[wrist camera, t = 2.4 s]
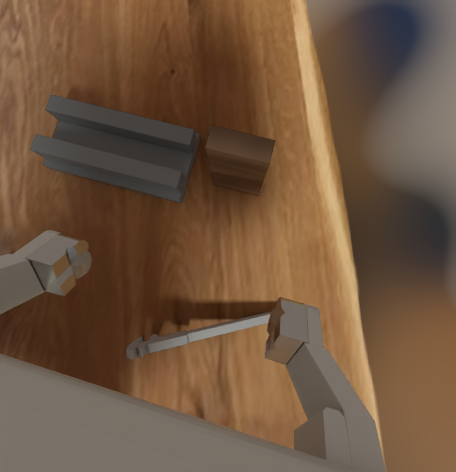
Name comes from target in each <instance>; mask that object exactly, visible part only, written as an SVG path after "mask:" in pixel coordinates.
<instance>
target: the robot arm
mask: <svg viewBox="0 0 456 472" xmlns="http://www.w3.org/2000/svg"><path fill="white" fill-rule="evenodd" d="M88 248H89V245H88V242H87V241H85V240H82V239H79V238H76V237H73V236H70V235H67V234H64V233H60V232H57V231H54V230H47V231H45V232H43V233H42V234H40V235H39V236H38V237H36V238H35V239H33V240H32V241H31V242H29V243H28V244H26V245H25V246H24V247H22V248H21V249H19V250H18V251H16V252H15V253H14V254H5V255H2V256H0V314H2V313H4V312H6V311H8V310H10V309H12V308H14V307H16V306H18V305H20V304H22V303H24V302H26V301H28V300H30V299H32V298H34V297H36V296H38V295H40V294H42V293H44V291H47V292H50V293H54V294H57V295H61V296H65V295H66V294H67V293H68V292H69V291H70V290H71V289H72V288H73V287H74V286H75V285H76V281H77V278H80V277H82V276H84V275H85V274H86V273H87V272H88V271H89V269H90V267H91V264H92V257H91V254H90V253H89V252H88V251H87V249H88ZM267 332H268V333H269V335H270V336H269V338H268V339H267V341H266V351H265V358H266V359H269V360H272V361H275V362H278V363H281V364H284V365H286V368H287V370H288V373H289V375H290V377H291V380H292V382H293V385H294V387H295V390H296V392H297V394H298V397H299V399H300V402H301V404H302V406H303V409H304V411H305V414H306V416H307V418H308V421H306V422H305V423H303V424H302V425H301V426H299V427H298V428H296V429H295V430H294V449H292V448H289V447H286V446H283V445H280V444H277V443H274V442H271V441H268V440H265V439H262V438H259V437H255V436H252V435H249V434H246V433H243V432H240V431H237V430H234V429H231V428H228V427H225V426H222V425H219V424H216V423H212V422H209V421H206V420H203V419H200V418H197V417H194V416H191V415H188V414H185V413H182V412H179V411H176V410H172V409H169V408H166V407H163V406H160V405H157V404H154V403H151V402H148V401H145V400H142V399H139V398H136V397H133V396H129V395H126V394H123V393H120V392H117V391H114V390H111V389H108V388H105V387H102V386H99V385H96V384H93V383H90V382H86V381H83V380H80V379H77V378H74V377H71V376H68V375H65V374H62V373H59V372H56V371H53V370H50V369H47V368H43V367H40V366H37V365H34V364H31V363H28V362H25V361H22V360H19V359H16V358H13V357H10V356H7V355H4V354H0V472H386V470H385V465H384V461H383V456H382V452H381V448H380V443H379V439H378V434H377V430H376V425H375V421H374V420H373V418H372V416H371V415H370V413H369V412H368V410H367V409H366V407H365V406H364V404H363V403H362V401H361V400H360V398H359V397H358V395H357V394H356V392H355V391H354V389H353V388H352V386H351V384H350V383H349V381H348V380H347V378H346V377H345V375H344V374H343V372H342V371H341V369H340V368H339V366H338V365H337V363H336V362H335V360H334V359H333V357H332V356H331V354H330V352H329V351H328V350H327V349H324V347H323V338H322V329H321V320H320V311H319V309H318V308H317V307H313V306H310V305H306V304H304V303H300V302H296V301H293V300H289V299H286V298H282V297H280V298H278V300H277V302H276V308H273V310H272V312H271V314H270V317H269V321H268V328H267Z"/></svg>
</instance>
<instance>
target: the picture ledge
mask: <svg viewBox="0 0 456 472" xmlns="http://www.w3.org/2000/svg"><path fill="white" fill-rule="evenodd" d="M45 110H47V111H48V112H49V113H50V114H52V115H53V116H54V117H55V118H56V119H58V120H59V122H58V125H57V127H56V130H55V133H54V135H53V138H49V137H45V136H41V135H37V134H36V135H35V138H34V140H33V143H32V146H31V148H30V150H31V151H33V152H35V153H37V154H39V155H40V156H42V157H44V158H45V160H44V162H43V165H44V166H46V167H48V168H50V169H53V170H57V171H60V172H64V173H68V174H72V175H76V176H79V177H83V178H87V179H91V180H95V181H98V182H102V183H106V184H110V185H114V186H117V187H121V188H125V189H129V190H133V191H136V192H140V193H144V194H148V195H152V196H155V197H159V198H163V199H167V200H171V201H174V202H178V203H182V200H183V196H184V193H185V190H186V186H187V183H188V180H189V176H190V173H191V170H192V166H193V163H194V160H195V156H196V153H197V150H198V146H199V143H200V140H201V138H200V134H199V133H197V132H195V130H194V129H190V128H186V127H182V126H178V125H174V124H170V123H165V122H161V121H157V120H153V119H149V118H145V117H141V116H137V115H133V114H129V113H125V112H121V111H116V110H112V109H108V108H104V107H100V106H96V105H92V104H88V103H84V102H80V101H76V100H72V99H67V98H63V97H59V96H55V95H51V96H50V98H49V101H48V104H47V106H46V109H45Z"/></svg>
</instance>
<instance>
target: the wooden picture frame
mask: <svg viewBox="0 0 456 472" xmlns="http://www.w3.org/2000/svg"><path fill="white" fill-rule="evenodd" d="M275 141H276V140H271V139H267V138H263V137H259V136H255V135H251V134H247V133H243V132H238V131H234V130H230V129H226V128H222V127H218V126H214V125H212V126H211V129H210V133H209V136H208V139H207V143H206V146H205V149H206V153H207V157H208V161H209V165H210V169H211V173H212V177H213V181H214V185H217V186H221V187H225V188H228V189H232V190H236V191H240V192H244V193H248V194H252V195H256V196H258V195H259V192H260V189H261V186H262V183H263V180H264V178H265V175H266V172H267V169H268V166H269V164H270V160H271V156H272V152H273V148H274V145H275Z"/></svg>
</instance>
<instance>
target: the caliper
mask: <svg viewBox="0 0 456 472" xmlns="http://www.w3.org/2000/svg"><path fill="white" fill-rule="evenodd" d="M271 312H272V311H271ZM271 312H266V313H262V314H258V315H253V316H249V317H245V318H241V319H237V320H233V321H228V322H224V323H220V324H216V325H211V326H207V327H203V328H199V329H195V330H190V331H187V330H184V331H181V332H176V333H172V334H169V335H166V336H162V337H159V336H158V335H157V334H152V336H151V337H150V340H149V341H144V342H143V337H139V338H137V339H136V340H134V341H133V342H132V343H130V344H129V345H128V347H127V349H126V352H127V358H131V360H133V359H135V358H136V357H138V355H139V357H141V358H143V357H144V354H146V353H148V352H149V353H153V352H157V351H161V350H165V349H169V348H172V347H176V346H180V345H184V344H188V343H189V342H192V341H196V340H201V339H205V338H209V337H213V336H217V335H221V334H225V333H229V332H233V331H237V330H241V329H245V328H249V327H253V326H257V325H261V324H265V323H268V321H269V317H270V314H271Z"/></svg>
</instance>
